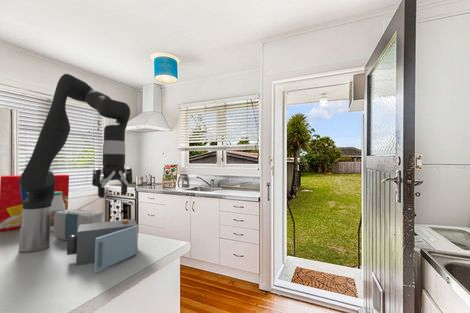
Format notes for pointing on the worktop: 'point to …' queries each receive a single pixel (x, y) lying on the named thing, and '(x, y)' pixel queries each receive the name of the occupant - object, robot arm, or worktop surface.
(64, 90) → the robot arm
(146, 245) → the worktop surface
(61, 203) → the milk bottle
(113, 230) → the camera housing
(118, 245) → the side door
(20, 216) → the red cardboard box
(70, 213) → the stereo radio cassette player
